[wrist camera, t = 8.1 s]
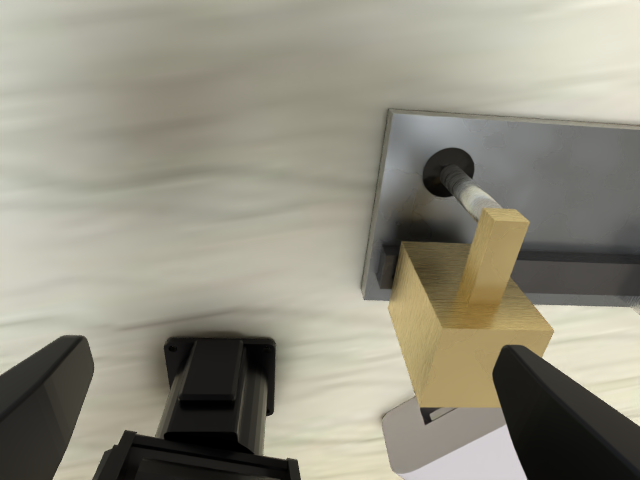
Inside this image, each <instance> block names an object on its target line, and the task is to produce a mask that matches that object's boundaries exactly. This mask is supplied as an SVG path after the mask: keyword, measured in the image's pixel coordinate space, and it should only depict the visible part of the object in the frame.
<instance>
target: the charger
mask: <svg viewBox="0 0 640 480" xmlns="http://www.w3.org/2000/svg"><path fill="white" fill-rule="evenodd" d="M382 429H383V434H384V438H385V443H386V448H387V452H388V457H389V462H390V466H391V469H392V471H393V472H395V473H396V474H397V475H399V476H400V477H401V478H403V479H404V480H527V478H526V475H525V473H524V471H523V468H522V466H521V464H520V461H519V459H518V456H517V454H516V451H515V449H514V446H513V443H512V440H511V438H510V435H509V431H508V428H507V425H506V422H505V418H504V415H503V412H502V409H501V408H453V407H419V404H418V401H417V398H416V396H415V397H414V398H412V399H410V400H408V401H407V402H405V403H403V404H401V405H400V406H398V407H396V408H394V409H393V410H391V411H389V412H387V414H386V415H385V416H384V418H383V420H382Z"/></svg>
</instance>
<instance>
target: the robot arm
mask: <svg viewBox="0 0 640 480" xmlns="http://www.w3.org/2000/svg"><path fill="white" fill-rule="evenodd" d="M172 346H175V347H172ZM265 347H269V348H268V349H267V348H265ZM164 352H165V359H166V365H167V371H168V378H169V384H170V393H169V396H168V399H167V402H166V405H165V408H164V411H163V414H162V417H161V420H160V423H159V426H158V429H157V432H156V435H155V437H150V436H144V435H138V434H136V433H137V432H133V431H127V430H125V431H124V434H123V436H122V438H121V440H120V442H119V444H118V445H114V446H113V448H112V449H110V450H108V451H105V452H104V454H103V457H102V459H101V461H100V464H99V466H98V468H97V471H96V473H95V475H94V477H93V479H92V480H301V478H300V472H299V466H298V460H296V459H290V458H287V459H286V460H285V459H279V458H273V457H267V456H263V448H264V434H265V420H266V416H270V415H272V414H273V412H274V390H275V354H276V345H275V342H274V341H272V340H269V339H222V338H170V339H168V340H167V341H166V343H165V346H164ZM93 373H94V362H93V358H92V354H91V351H90V347H89V343H88V340H87V338H86V337H85V336H82V335H64V336H61V337H60V338H58V339H56V340H55V341H53V342H52V343H50V344H48V345H47V346H45V347H44V348H42V349H41V350H39V351H38V352H36V353H34V354H33V355H31V356H30V357H28V358H27V359H25V360H24V361H22V362H20V363H19V364H17V365H16V366H14V367H13V368H11V369H9V370H8V371H6V372H5V373H3V374H2V375H0V480H52V479H53V477H54V475H55V473H56V471H57V468H58V466H59V464H60V462H61V460H62V458H63V456H64V453H65V451H66V449H67V447H68V444H69V441H70V439H71V436H72V433H73V430H74V428H75V425H76V422H77V419H78V416H79V414H80V411H81V408H82V405H83V402H84V399H85V397H86V394H87V391H88V388H89V385H90V382H91V380H92V377H93ZM492 378H493V383H494V386H495V389H496V393H497V396H498V399H499V402H500V405H501V409H502V412H503V415H504V418H505V422H506V425H507V428H508V431H509V435H510V438H511V440H512V443H513V446H514V449H515V451H516V454H517V456H518V459H519V461H520V464H521V466H522V468H523V471H524V473H525V475H526V478H527V480H640V426H638V425H637V424H635V423H634V422H633V421H631V420H630V419H628V418H627V417H625V416H624V415H623V414H621V413H620V412H618V411H617V410H615V409H614V408H613V407H611V406H610V405H608V404H607V403H605V402H604V401H603V400H601V399H600V398H598V397H597V396H595V395H594V394H593V393H591V392H590V391H588V390H587V389H585V388H584V387H582V386H581V385H580V384H578V383H577V382H575V381H574V380H572V379H571V378H570V377H568V376H567V375H565V374H564V373H562V372H561V371H560V370H558V369H557V368H555V367H554V366H552V365H551V364H550V363H548V362H547V361H545V360H544V359H542V358H541V357H540V356H538V355H537V354H535V353H534V352H532V351H531V350H530V349H528V348H527V347H525V346H523V345H504V346H503V347H502V348H501V351H500V353H499V356H498V358H497V360H496V363H495V365H494V368H493V372H492Z"/></svg>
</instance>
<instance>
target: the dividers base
mask: <svg viewBox="0 0 640 480" xmlns="http://www.w3.org/2000/svg"><path fill="white" fill-rule="evenodd" d="M448 165H457V166H458V167H459V168H460V169H461V170H463V171H464V172H465V173H466V174H467V175H468V176H469V177H470V178H471V179H472V180H473V181H474V182H475V183H477V184H478V185H479V186H480V187H481V188H482V189H483V190H484V191H485V192H486V193H487V194H488V195H489V196H490V197H492V198H493V199H494V200H495V201H496V202H497V203H498V204H499V205H500V206H501V207H502V208H503V209H516V210H517V211H518V212H519V213H520V214H522V215H523V216H524V217H525V218H526V219H527V220H528V221H529V222H530V224H529V226H528V229H527V232H526V234H525V237H524V240H523V243H522V245H521V248H520V251H519V253H518V256H517V259H516V262H515V264H514V267H513V270H512V272H511V275H510V277H511V278H512V280H513V281H514V282H515V283H516V285H517V286H518V287H519V288H520V289H521V291H522V292H523V293H524V294H525V296H526V297H527V298H528V299H529V300H530V302H531V303H532V304H538V305H576V306H615V307H631V308H632V309H633V310H635V311H636V312H637V313H638V314H639V315H640V126H638V125H623V124H608V123H593V122H578V121H563V120H548V119H534V118H519V117H504V116H489V115H474V114H459V113H444V112H429V111H414V110H399V109H389V110H388V117H387V123H386V130H385V136H384V143H383V149H382V156H381V162H380V169H379V175H378V182H377V188H376V195H375V201H374V208H373V214H372V221H371V227H370V234H369V240H368V247H367V254H366V260H365V267H364V273H363V280H362V286H361V291H362V295H363V299H364V300H383V301H390V296H391V291H392V286H393V281H394V276H395V271H396V266H397V261H398V256H399V251H400V246H401V241H411V242H437V243H462V244H472V242H473V239H474V235H475V232H476V228H477V225H478V223H477V222H476V221H475V220H474V219H473V218H472V217H471V215H470V214H469V213H468V212H467V211H466V210H465V209H464V207H463V206H462V205H461V204H460V203H459V202H458V201H457V199H456V198H455V197H454V196H453V195H452V194H451V193H450V191H449V190H448V189H447V188H446V187H445V186H444V185H443V183H442V182H441V181H440V173H441V171H442V169H443V168H445V167H446V166H448Z"/></svg>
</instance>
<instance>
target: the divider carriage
mask: <svg viewBox="0 0 640 480" xmlns="http://www.w3.org/2000/svg"><path fill="white" fill-rule="evenodd" d="M440 181H441V182H442V183H443V185H444V186H445V187H446V188H447V189H448V190H449V191H450V193H451V194H452V195H453V196H454V197H455V198H456V199H457V201H458V202H459V203H460V204H461V205H462V206H463V207H464V209H465V210H466V211H467V212H468V213H469V214H470V215H471V217H472V218H473V219H474V220H475V221H476V222H477V223H478V225H477V228H476V232H475V235H474V239H473V242H472V244H462V243H437V242H411V241H401V246H400V251H399V256H398V261H397V266H396V271H395V276H394V281H393V286H392V291H391V296H390V301H389V306H388V310H389V313H390V316H391V319H392V322H393V326H394V329H395V332H396V335H397V338H398V341H399V344H400V348H401V351H402V354H403V357H404V360H405V363H406V367H407V370H408V373H409V376H410V379H411V382H412V385H413V389H414V392H415V395H416V398H417V401H418V404H419V407H453V408H501V405H500V402H499V399H498V396H497V393H496V389H495V386H494V383H493V378H492V372H493V368H494V365H495V363H496V360H497V358H498V356H499V353H500V351H501V348H502V347H503V346H504V345H523V346H525V347H527V348H528V349H530V350H531V351H532V352H534V353H535V354H537V355H538V356H540V357H541V358H542V356H543V354H544V352H545V350H546V347H547V345H548V343H549V341H550V339H551V337H552V335H553V333H554V330H553V328H552V327H551V326H550V325H549V324H548V322H547V321H546V320H545V319H544V317H543V316H542V315H541V314H540V313H539V311H538V310H537V309H536V308H535V306H534V305H533V304H532V303H531V302H530V300H529V299H528V298H527V297H526V296H525V294H524V293H523V292H522V291H521V289H520V288H519V287H518V286H517V285H516V283H515V282H514V281H513V280H512V278H511V277H510V275H511V272H512V270H513V267H514V264H515V262H516V259H517V256H518V253H519V251H520V248H521V245H522V243H523V240H524V237H525V234H526V232H527V229H528V226H529V224H530V222H529V221H528V220H527V219H526V218H525V217H524V216H523V215H522V214H520V213H519V212H518V211H517V210H516V209H503V208H502V207H501V206H500V205H499V204H498V203H497V202H496V201H495V200H494V199H493V198H492V197H490V196H489V195H488V194H487V193H486V192H485V191H484V190H483V189H482V188H481V187H480V186H479V185H478V184H477V183H475V182H474V181H473V180H472V179H471V178H470V177H469V176H468V175H467V174H466V173H465V172H464V171H463V170H461V169H460V168H459V167H458V166H457V165H448V166H446V167H445V168H443V169H442V171H441V173H440Z"/></svg>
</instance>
